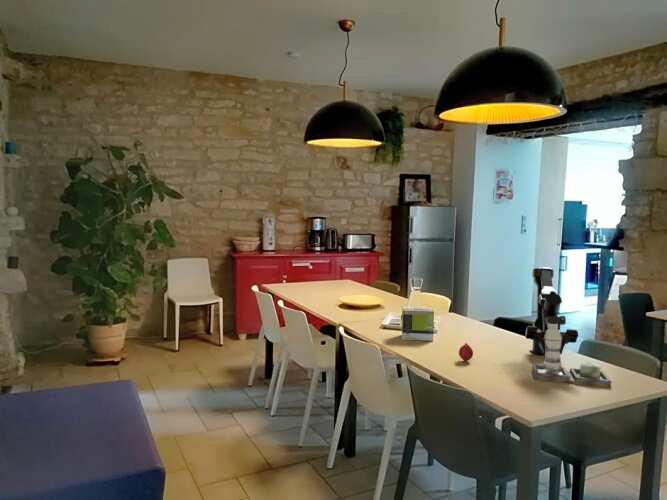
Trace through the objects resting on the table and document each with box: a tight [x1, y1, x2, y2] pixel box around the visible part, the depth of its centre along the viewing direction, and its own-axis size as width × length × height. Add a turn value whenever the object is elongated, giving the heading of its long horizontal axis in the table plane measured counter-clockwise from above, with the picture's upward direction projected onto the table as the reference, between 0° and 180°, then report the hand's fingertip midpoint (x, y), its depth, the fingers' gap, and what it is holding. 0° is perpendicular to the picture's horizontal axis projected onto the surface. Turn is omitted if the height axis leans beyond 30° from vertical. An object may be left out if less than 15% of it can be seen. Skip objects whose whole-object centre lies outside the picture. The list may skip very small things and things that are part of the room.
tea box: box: [401, 306, 435, 342], centre depth 253 cm, size 15×10×15 cm, turn 84°
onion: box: [458, 342, 474, 362], centre depth 217 cm, size 6×6×8 cm
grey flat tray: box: [531, 361, 612, 389], centre depth 199 cm, size 26×12×6 cm, turn 75°
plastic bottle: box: [543, 323, 563, 374], centre depth 200 cm, size 6×7×20 cm
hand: (552, 353), depth 199 cm, fingers open, 6 cm apart
